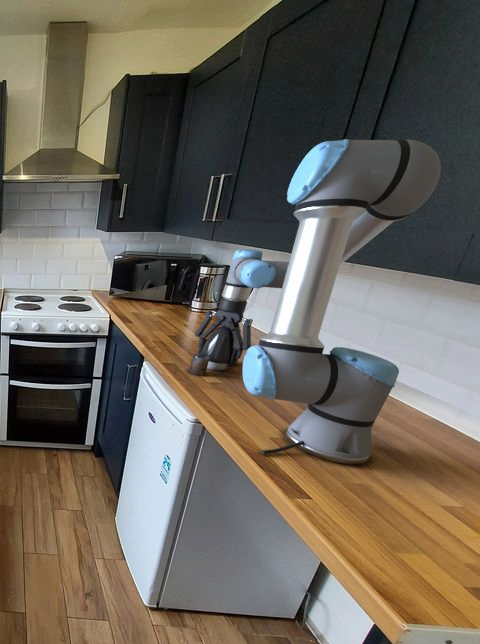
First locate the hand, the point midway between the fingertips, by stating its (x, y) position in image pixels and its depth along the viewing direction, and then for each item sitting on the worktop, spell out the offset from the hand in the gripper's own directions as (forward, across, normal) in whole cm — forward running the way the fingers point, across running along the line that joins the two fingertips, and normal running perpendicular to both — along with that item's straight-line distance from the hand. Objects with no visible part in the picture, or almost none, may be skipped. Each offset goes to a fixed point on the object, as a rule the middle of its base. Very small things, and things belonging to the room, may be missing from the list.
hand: (215, 361), depth 141 cm
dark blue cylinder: (+2, 0, -10) cm, 10 cm away
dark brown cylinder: (+2, 0, +10) cm, 11 cm away
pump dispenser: (+2, 0, 0) cm, 2 cm away
